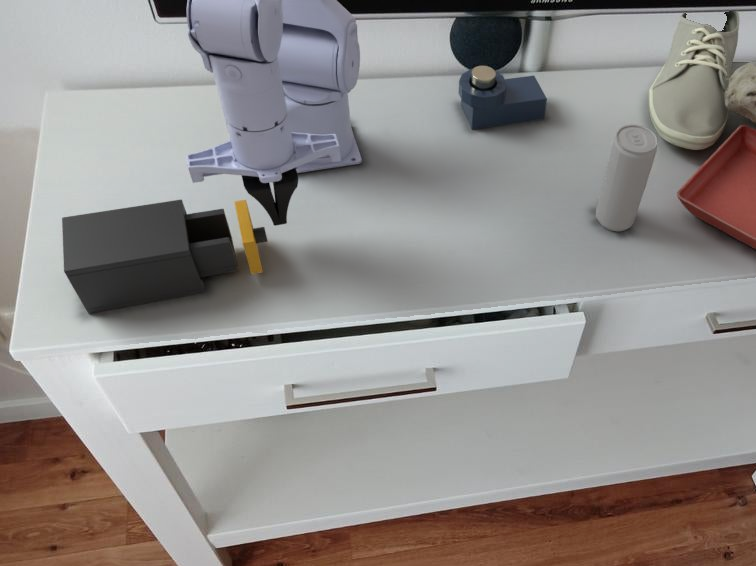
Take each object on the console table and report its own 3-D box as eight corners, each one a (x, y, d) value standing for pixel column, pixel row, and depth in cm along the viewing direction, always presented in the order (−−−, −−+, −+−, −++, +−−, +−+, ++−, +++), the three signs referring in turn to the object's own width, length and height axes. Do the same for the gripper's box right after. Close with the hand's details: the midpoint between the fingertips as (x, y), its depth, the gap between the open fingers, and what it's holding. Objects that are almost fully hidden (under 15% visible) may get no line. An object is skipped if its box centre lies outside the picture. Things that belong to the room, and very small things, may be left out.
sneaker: (631, 149, 101) (648, 95, 94) (667, 27, 117) (684, -27, 110) (713, 172, 100) (737, 119, 93) (738, 47, 116) (759, -7, 109)
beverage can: (627, 203, 95) (651, 122, 85) (639, 232, 92) (664, 151, 82) (590, 206, 94) (609, 124, 84) (600, 235, 92) (621, 154, 82)
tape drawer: (265, 229, 86) (257, 197, 82) (274, 270, 83) (266, 239, 79) (154, 247, 83) (141, 215, 79) (160, 290, 80) (146, 259, 76)
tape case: (197, 242, 85) (181, 199, 80) (205, 292, 82) (189, 250, 76) (85, 261, 82) (61, 217, 77) (88, 314, 79) (63, 271, 73)
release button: (475, 93, 97) (475, 81, 95) (468, 79, 98) (468, 66, 97) (497, 90, 98) (498, 78, 96) (490, 76, 99) (491, 64, 98)
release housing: (465, 132, 100) (467, 99, 95) (452, 104, 103) (454, 70, 98) (545, 121, 102) (550, 88, 98) (530, 93, 105) (534, 60, 101)
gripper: (178, 151, 69) (213, 257, 80) (342, 128, 72) (353, 232, 84) (170, 102, 72) (205, 209, 83) (326, 82, 76) (339, 188, 87)
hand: (278, 218), depth 84 cm, fingers closed
